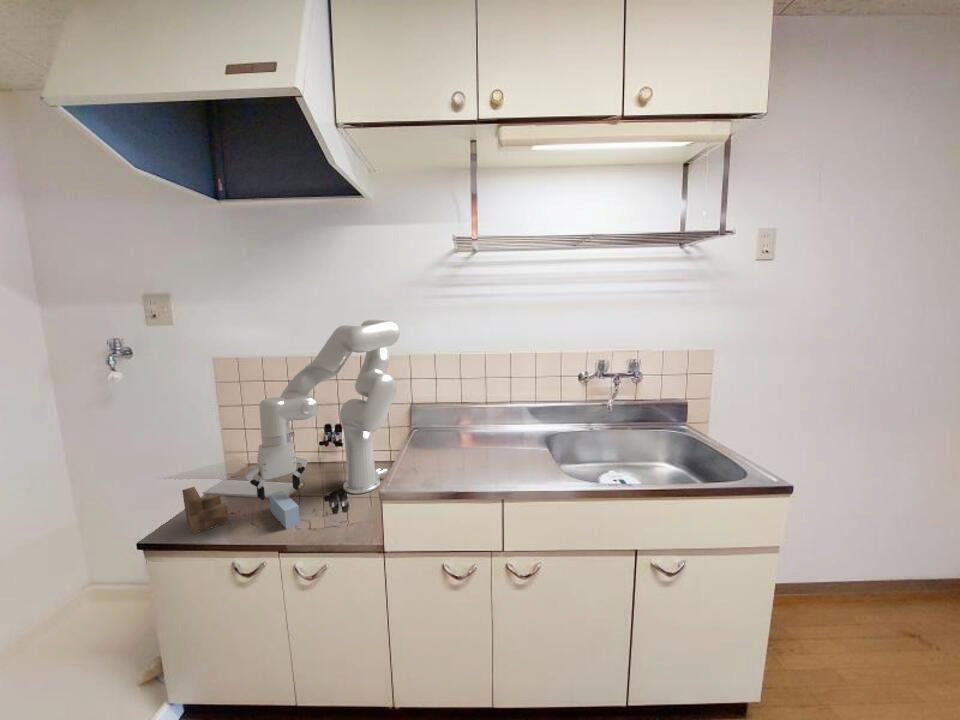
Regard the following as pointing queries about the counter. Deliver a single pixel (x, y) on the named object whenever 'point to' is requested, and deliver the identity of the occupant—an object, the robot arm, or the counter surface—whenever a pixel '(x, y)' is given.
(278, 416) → the robot arm
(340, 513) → the counter surface
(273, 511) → the slate slat
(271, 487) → the baseboard molding
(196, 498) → the walnut end cap
